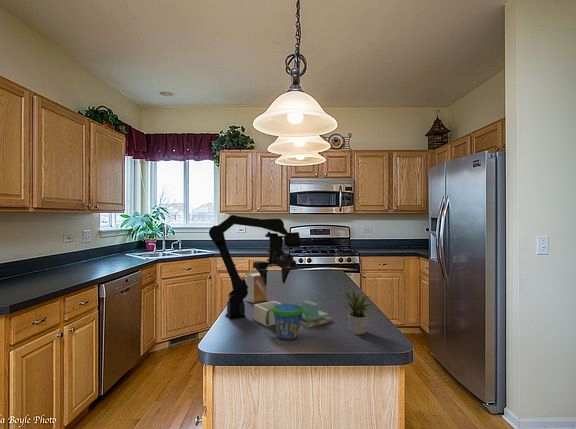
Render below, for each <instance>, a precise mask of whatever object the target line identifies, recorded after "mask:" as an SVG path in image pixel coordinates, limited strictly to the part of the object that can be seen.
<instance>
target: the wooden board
mask: <svg viewBox="0 0 576 429" xmlns="http://www.w3.org/2000/svg"><path fill="white" fill-rule="evenodd" d="M330 322H333V318H331V317H329V316H328V317H324V319H320V320H316V321H312V322H310V326H309V328H312V327H315V326H318V325H323V324H326V323H327V324H328V323H330ZM300 326H303V327H304V328H307V327H308V322H307V321H304V320H302V319H301V321H300Z"/></svg>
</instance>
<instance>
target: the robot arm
mask: <svg viewBox="0 0 576 429" xmlns="http://www.w3.org/2000/svg"><path fill="white" fill-rule="evenodd" d="M234 225H236V226H237V225H238V226H244V227H253V228H254V227H255V228H261V229H265V230H268V231H267V233H266V234H264V237H265V238H269V240H268V249H267V250H266V251H267V253H268V258H267V259H266V261H265V260H264V261H263V260H254V261H253V263H252V268H253V269H255V270H256V271H258V272H257V273H259V274H260V275H261V278H262V280H263V283H264V285H265V286H266V287H267V282H268V279H267V277H268V271H269V269H268V268H269V267H270V268H271V267H279V268H280V269H281V281H282V284H285V283H286V281H287V279H288V275H289V273H290V272H291V271H292V270H293V269H294V268H297V261H296V259H294V255H293V254H288V255H285V250H284V249H283V246H285V248H286V249H287V248H288V249H299V248H300V247H301V238H300V232H298V231H295V232H288V231H287V229H286V228H285V222H284V221H283V219H281V218H277V217H276V218H275V217H274V218H257V217H256V218H255V217H248V216H247V217H245V216H239V215H235V214H231V215H229V216H228V217H227V218H226V219H225V220H223V221H222V222H221V223H219V224H218V225H215V224H214V225H212V226H211V227H210V229H209V230H208V235H209V237H210V239H211V241H212V242H213V244H214V245H215V247H216V248H217V250H218V251H219V255H220V256H221V259H222V262H223V264H224V266H225V269H226V270H227V274H228V276H229V278H230V282H231V287H232V290H231V291H230V292H229V293H228V294H227V296H228V301H226V313H225V316H226V317H227V318H229V319H231V320H236V319H239V318H245V317H246V305H245V301H244V299H246V296H247V294H248V290H247V289H248V285H247V284H246V278H245V276H243V277H241V275H239V272H238V270H237V268H236V265H235V263H234V261H233V257H232V255H231V253H230V251H229V248H228V246H227V242H226V237H225V232H227V231H228V230H229V229H230V228H231V227H233V226H234ZM274 232H275V233H274ZM278 233H279V234H280V235H279V234H278Z"/></svg>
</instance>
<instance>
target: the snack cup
mask: <svg viewBox="0 0 576 429" xmlns="http://www.w3.org/2000/svg"><path fill="white" fill-rule="evenodd" d="M271 310H272V311H273V313H274V320H275V324H274V326H275V327H274V328H275V334H276V337H278V338H279V339H280V340H289V341H290V340H291V341H292V340H294V339H296V338H298V337H299V331H300V326H301V325H300V321H301V317H302V313H304V314H305V316H306V317H307V319H308V327H306V330H309V328H310V327H309V326H310V318H309V315H308V313H307V312H306V311H305V310H304V309H303V308H302V305H299V304H296V303H295V304H294V303H281V304H278V305H275V306H274V307H272V308H271V309H269V310H268V312H267V314H266V325H268V324H269V317H268V315H269V312H270V311H271Z"/></svg>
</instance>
